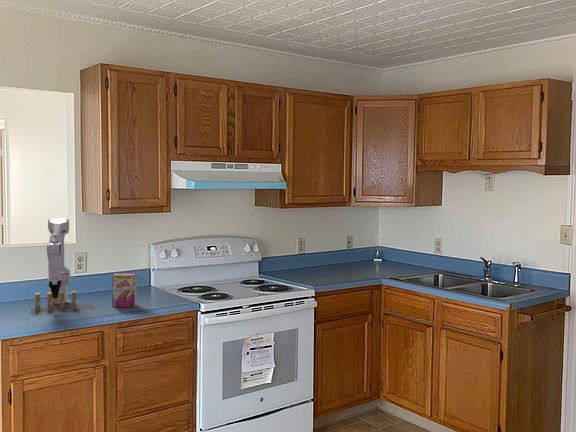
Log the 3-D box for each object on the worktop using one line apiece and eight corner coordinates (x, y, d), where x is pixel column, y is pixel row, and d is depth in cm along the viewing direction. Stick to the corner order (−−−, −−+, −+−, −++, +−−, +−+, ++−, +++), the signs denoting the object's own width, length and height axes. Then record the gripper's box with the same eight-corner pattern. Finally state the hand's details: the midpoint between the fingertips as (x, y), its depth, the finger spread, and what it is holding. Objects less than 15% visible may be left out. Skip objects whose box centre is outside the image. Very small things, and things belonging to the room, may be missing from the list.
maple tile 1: (35, 311, 281) (34, 294, 280) (35, 308, 285) (35, 292, 285) (39, 310, 282) (39, 294, 281) (40, 308, 286) (40, 292, 286)
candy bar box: (112, 307, 292) (111, 275, 291) (114, 305, 297) (114, 273, 296) (134, 307, 293) (134, 275, 292) (136, 305, 298) (136, 273, 297)
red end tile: (53, 303, 275) (52, 286, 274) (53, 301, 280) (53, 284, 279) (57, 302, 276) (57, 286, 275) (57, 300, 280) (57, 284, 280)
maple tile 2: (47, 310, 283) (47, 294, 282) (48, 308, 287) (47, 292, 287) (52, 310, 283) (51, 293, 283) (52, 307, 288) (52, 291, 288)
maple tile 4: (71, 308, 287) (71, 292, 286) (71, 306, 291) (71, 290, 291) (76, 308, 287) (75, 292, 287) (76, 306, 292) (75, 290, 291)
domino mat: (30, 314, 277) (30, 313, 277) (31, 308, 288) (31, 307, 288) (94, 309, 287) (94, 308, 287) (93, 304, 298) (93, 303, 298)
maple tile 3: (59, 309, 285) (59, 293, 284) (60, 307, 289) (59, 291, 289) (64, 309, 285) (63, 293, 285) (64, 307, 290) (64, 291, 289)
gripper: (46, 266, 282) (46, 294, 283) (45, 271, 268) (45, 300, 269) (62, 265, 284) (62, 293, 285) (61, 270, 271) (62, 299, 272)
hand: (55, 296), depth 277 cm, fingers closed on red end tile, 5 cm apart
